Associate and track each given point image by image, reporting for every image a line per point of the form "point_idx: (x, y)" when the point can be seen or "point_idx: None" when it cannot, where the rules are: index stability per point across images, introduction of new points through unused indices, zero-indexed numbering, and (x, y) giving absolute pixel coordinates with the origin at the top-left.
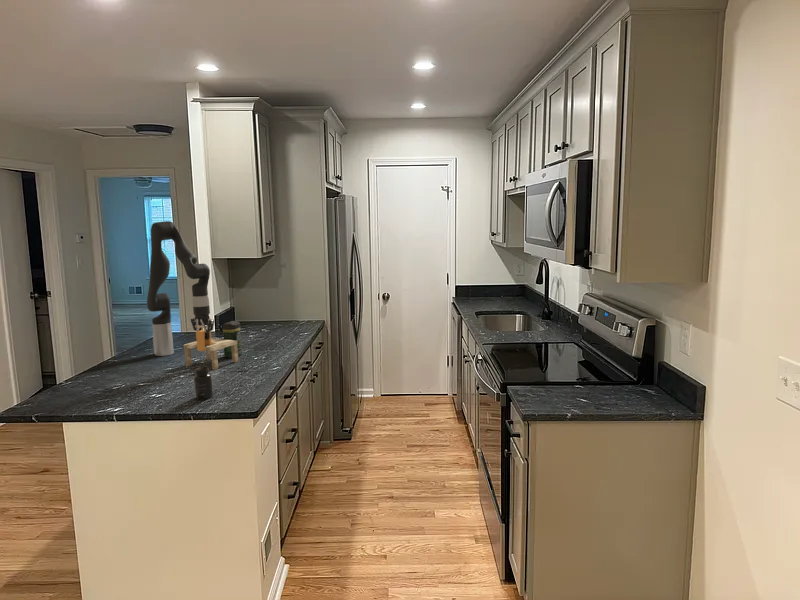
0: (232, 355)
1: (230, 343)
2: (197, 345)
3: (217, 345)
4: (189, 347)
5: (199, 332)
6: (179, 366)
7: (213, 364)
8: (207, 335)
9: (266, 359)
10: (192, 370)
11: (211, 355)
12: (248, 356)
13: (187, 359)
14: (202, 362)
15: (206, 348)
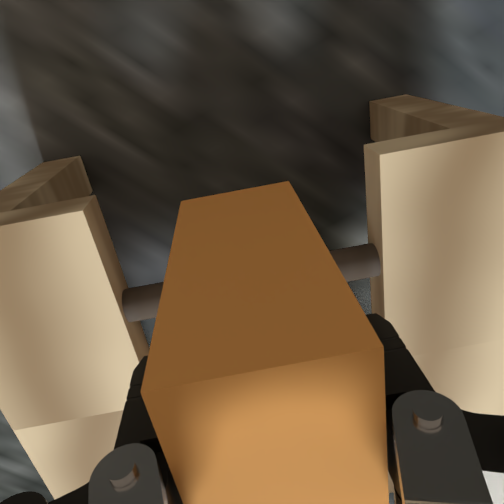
0: None
1: (47, 476)
2: (292, 207)
3: (26, 349)
4: (413, 137)
5: (235, 363)
6: (449, 44)
7: (45, 170)
8: (125, 407)
9: (23, 487)
10: (200, 19)
11: (24, 196)
12: None
13: (406, 107)
14: (359, 237)
15: (62, 207)
